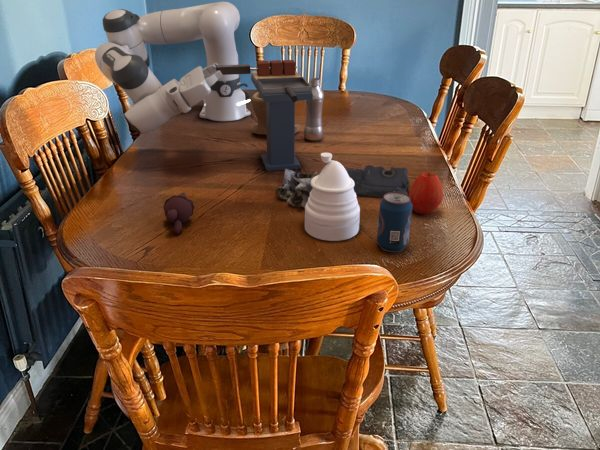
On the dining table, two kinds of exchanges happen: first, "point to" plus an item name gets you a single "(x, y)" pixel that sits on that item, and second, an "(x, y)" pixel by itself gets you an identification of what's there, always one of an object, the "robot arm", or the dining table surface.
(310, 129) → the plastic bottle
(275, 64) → the beef skewer
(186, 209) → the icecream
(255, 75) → the cutting board
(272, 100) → the stand
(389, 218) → the soda can
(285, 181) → the foil
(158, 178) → the dining table surface
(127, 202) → the dining table surface
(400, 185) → the dark slate chunk
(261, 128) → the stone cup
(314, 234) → the honey pot
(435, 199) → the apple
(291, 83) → the steel pan
